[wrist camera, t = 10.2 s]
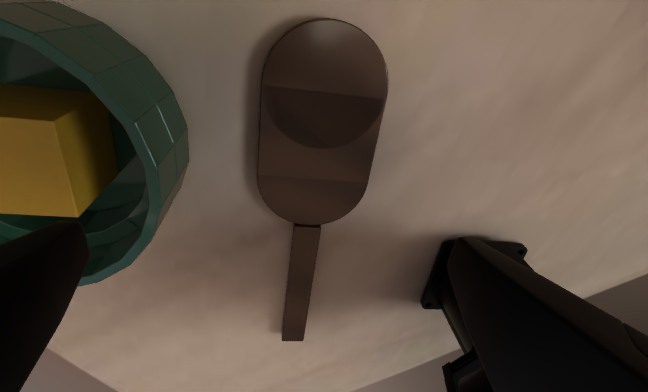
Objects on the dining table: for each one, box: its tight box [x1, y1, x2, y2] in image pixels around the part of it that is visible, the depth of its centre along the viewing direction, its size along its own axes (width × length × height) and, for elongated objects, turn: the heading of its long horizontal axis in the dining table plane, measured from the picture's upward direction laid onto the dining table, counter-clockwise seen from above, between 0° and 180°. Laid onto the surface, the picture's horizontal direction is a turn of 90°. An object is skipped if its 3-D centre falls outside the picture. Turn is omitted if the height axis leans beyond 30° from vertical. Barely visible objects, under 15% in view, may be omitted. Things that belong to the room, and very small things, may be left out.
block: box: [0, 83, 119, 217], centre depth 16 cm, size 4×4×4 cm
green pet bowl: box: [0, 0, 189, 287], centre depth 15 cm, size 12×12×6 cm
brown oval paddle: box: [257, 18, 388, 341], centre depth 22 cm, size 23×7×1 cm, turn 173°
